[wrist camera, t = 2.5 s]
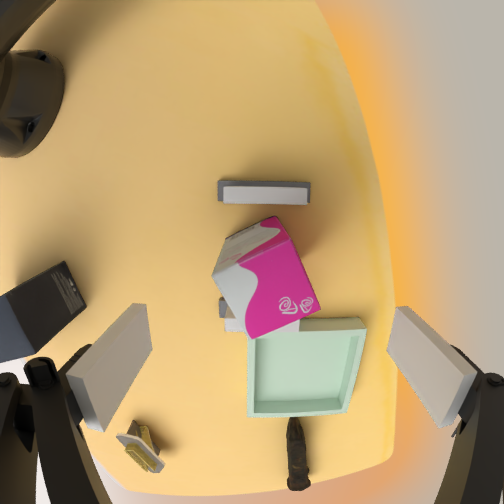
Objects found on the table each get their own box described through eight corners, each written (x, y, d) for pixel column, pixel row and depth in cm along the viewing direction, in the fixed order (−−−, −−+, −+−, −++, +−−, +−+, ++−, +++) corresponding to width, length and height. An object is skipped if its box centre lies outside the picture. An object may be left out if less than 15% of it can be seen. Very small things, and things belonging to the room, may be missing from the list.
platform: (151, 388, 35) (136, 419, 29) (209, 460, 39) (204, 489, 33) (94, 398, 36) (77, 424, 30) (153, 465, 40) (145, 490, 34)
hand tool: (308, 474, 40) (311, 493, 35) (286, 476, 40) (288, 496, 35) (312, 408, 35) (317, 431, 31) (283, 411, 36) (286, 435, 31)
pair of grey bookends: (218, 180, 28) (211, 180, 24) (308, 182, 28) (319, 182, 24) (220, 314, 32) (214, 335, 27) (301, 315, 32) (308, 336, 27)
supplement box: (249, 287, 31) (246, 343, 20) (224, 238, 30) (206, 271, 19) (299, 265, 30) (323, 311, 19) (276, 213, 29) (288, 233, 18)
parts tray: (248, 318, 32) (247, 331, 29) (358, 316, 32) (367, 328, 29) (247, 401, 35) (247, 417, 32) (341, 398, 35) (346, 412, 32)
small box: (34, 329, 33) (-13, 367, 22) (15, 288, 32) (-38, 319, 20) (89, 308, 32) (35, 355, 20) (66, 259, 31) (2, 292, 19)
